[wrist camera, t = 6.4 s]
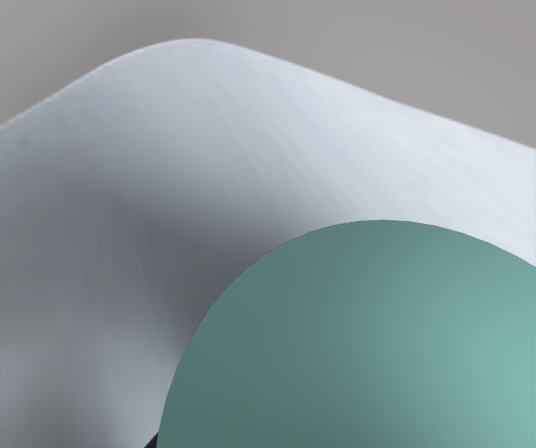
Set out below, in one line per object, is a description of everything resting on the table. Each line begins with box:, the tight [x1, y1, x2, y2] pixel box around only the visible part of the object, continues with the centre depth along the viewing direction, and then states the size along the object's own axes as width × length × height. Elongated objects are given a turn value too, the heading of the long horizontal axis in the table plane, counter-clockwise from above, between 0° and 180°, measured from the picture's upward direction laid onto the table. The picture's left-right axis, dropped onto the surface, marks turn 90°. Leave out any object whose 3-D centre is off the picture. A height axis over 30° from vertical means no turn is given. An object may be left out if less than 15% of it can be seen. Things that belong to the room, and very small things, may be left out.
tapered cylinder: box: [156, 220, 536, 448], centre depth 8 cm, size 5×5×12 cm
